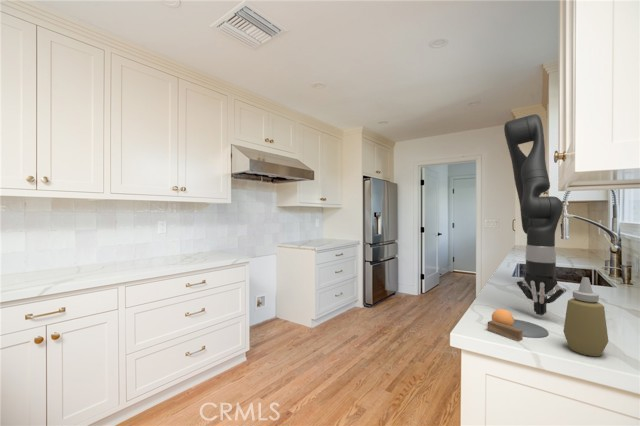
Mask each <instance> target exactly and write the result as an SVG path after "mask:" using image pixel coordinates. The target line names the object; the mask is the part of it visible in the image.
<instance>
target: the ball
mask: <svg viewBox="0 0 640 426" xmlns="http://www.w3.org/2000/svg"><path fill="white" fill-rule="evenodd" d="M491 320H492V321H495V322H498V323H501V324H504V325H507V326H511V327H512V326H513V324H514V315H513V314H512V313H510V311H508V310H507V309H503V308H499V309H495V310H494V311H493V312H492V314H491Z"/></svg>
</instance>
